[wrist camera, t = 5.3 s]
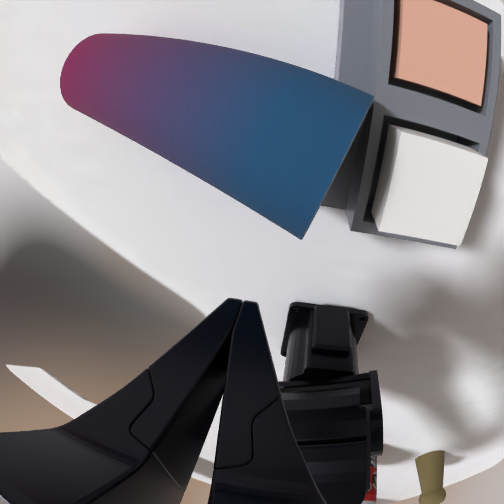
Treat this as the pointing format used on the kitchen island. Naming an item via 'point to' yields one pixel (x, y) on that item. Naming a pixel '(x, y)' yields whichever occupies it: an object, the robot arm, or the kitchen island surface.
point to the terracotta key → (439, 49)
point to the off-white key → (427, 186)
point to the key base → (400, 103)
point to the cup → (222, 117)
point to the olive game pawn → (431, 477)
